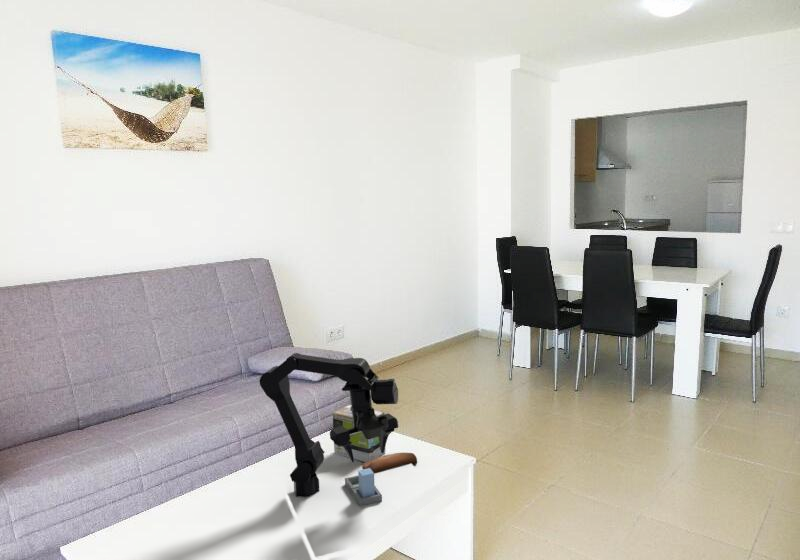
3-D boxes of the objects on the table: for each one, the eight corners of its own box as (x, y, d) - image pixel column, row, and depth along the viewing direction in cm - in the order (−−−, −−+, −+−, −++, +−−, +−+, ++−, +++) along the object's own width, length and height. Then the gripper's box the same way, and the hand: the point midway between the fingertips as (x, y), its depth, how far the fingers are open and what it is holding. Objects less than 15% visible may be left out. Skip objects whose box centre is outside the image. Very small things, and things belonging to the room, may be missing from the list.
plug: (363, 502, 162) (362, 475, 161) (359, 496, 165) (358, 470, 164) (374, 499, 163) (374, 473, 162) (370, 494, 166) (369, 468, 165)
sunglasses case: (404, 453, 194) (409, 441, 190) (413, 471, 189) (419, 459, 185) (355, 467, 185) (359, 454, 181) (364, 485, 180) (368, 473, 177)
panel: (357, 511, 160) (357, 501, 159) (342, 487, 172) (342, 478, 172) (384, 504, 163) (384, 494, 162) (368, 482, 175) (367, 473, 175)
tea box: (386, 452, 195) (385, 411, 193) (368, 464, 187) (367, 421, 185) (351, 442, 203) (350, 402, 201) (333, 453, 195) (331, 412, 193)
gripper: (340, 421, 150) (347, 478, 152) (404, 404, 158) (409, 458, 160) (326, 409, 160) (332, 462, 162) (387, 393, 168) (392, 444, 170)
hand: (367, 457), depth 163 cm, fingers open, 9 cm apart
